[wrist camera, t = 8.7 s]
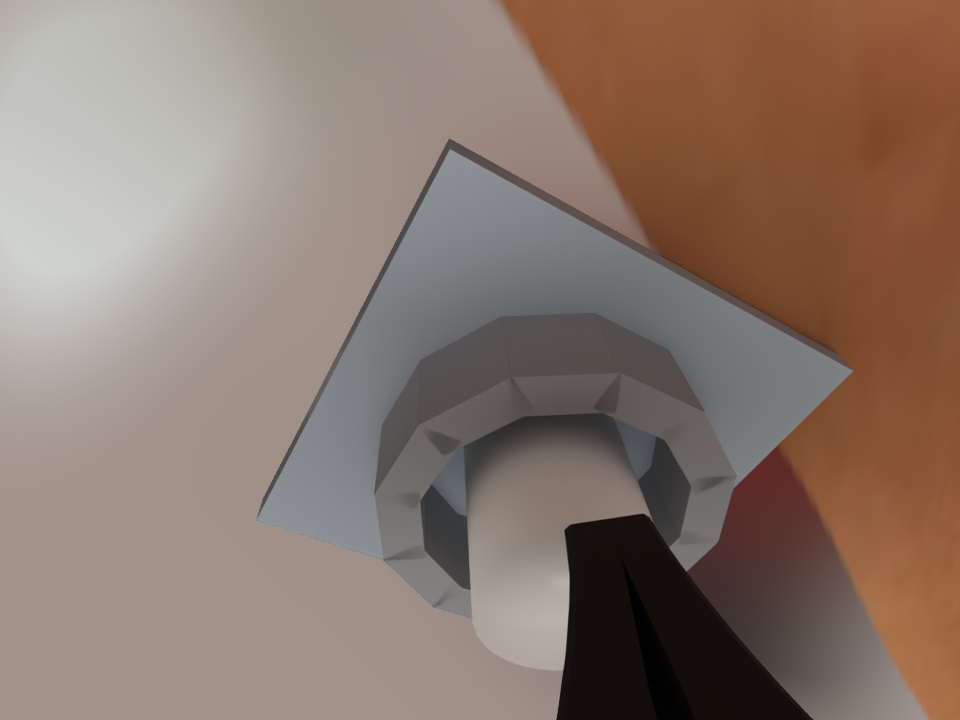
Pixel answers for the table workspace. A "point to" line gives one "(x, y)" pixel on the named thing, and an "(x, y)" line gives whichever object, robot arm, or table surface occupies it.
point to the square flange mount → (533, 377)
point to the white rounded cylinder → (538, 524)
